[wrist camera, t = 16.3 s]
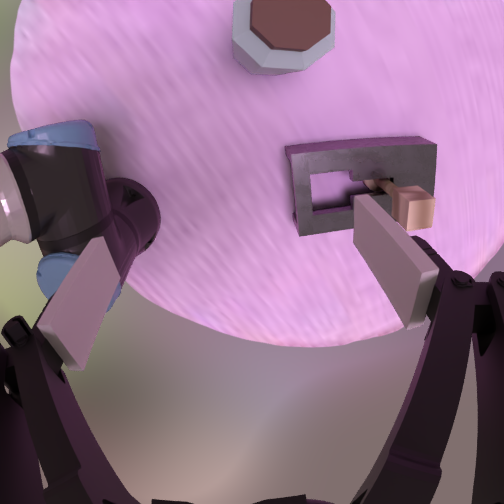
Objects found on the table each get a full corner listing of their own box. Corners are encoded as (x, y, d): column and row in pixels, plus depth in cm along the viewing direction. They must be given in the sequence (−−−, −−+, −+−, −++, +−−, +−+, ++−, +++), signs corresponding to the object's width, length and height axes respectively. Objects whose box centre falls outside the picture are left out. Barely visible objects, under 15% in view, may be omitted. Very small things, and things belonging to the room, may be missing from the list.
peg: (361, 189, 52) (404, 233, 38) (361, 163, 49) (407, 200, 35) (385, 186, 52) (432, 228, 38) (385, 161, 49) (437, 196, 35)
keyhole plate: (293, 220, 55) (299, 236, 50) (284, 146, 48) (291, 154, 42) (416, 203, 54) (431, 216, 49) (419, 136, 47) (436, 144, 41)
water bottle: (304, 66, 40) (369, 56, 19) (245, 85, 42) (254, 87, 21) (282, 13, 35) (326, -44, 14) (221, 32, 37) (208, -17, 16)
